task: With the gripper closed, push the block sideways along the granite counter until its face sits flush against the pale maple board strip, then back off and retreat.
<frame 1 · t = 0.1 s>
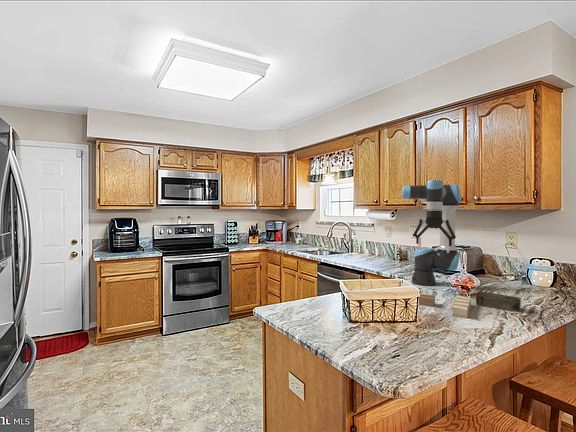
hand: (433, 251, 173), 28 cm above the countertop, fingers open, 13 cm apart
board: (462, 310, 166), on the countertop
block: (423, 304, 176), on the countertop
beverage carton: (498, 307, 171), on the countertop
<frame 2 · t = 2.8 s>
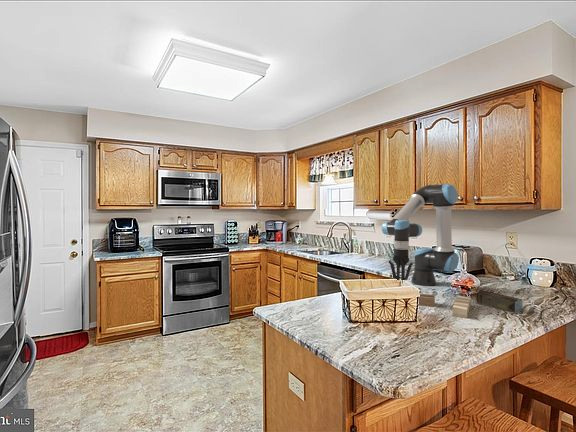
hand: (400, 291, 182), 5 cm above the countertop, fingers closed
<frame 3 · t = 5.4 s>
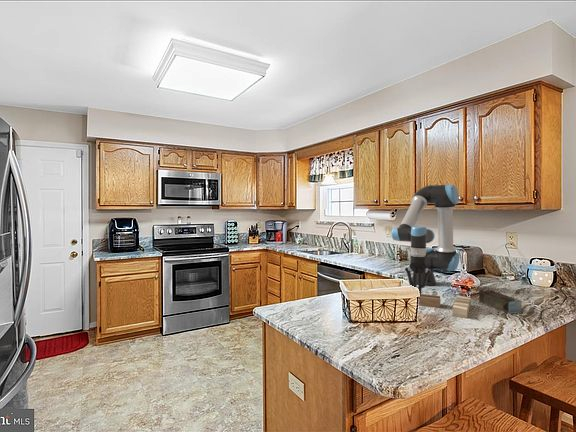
hand: (417, 299, 178), 1 cm above the countertop, fingers closed
block: (429, 305, 174), on the countertop, touching gripper
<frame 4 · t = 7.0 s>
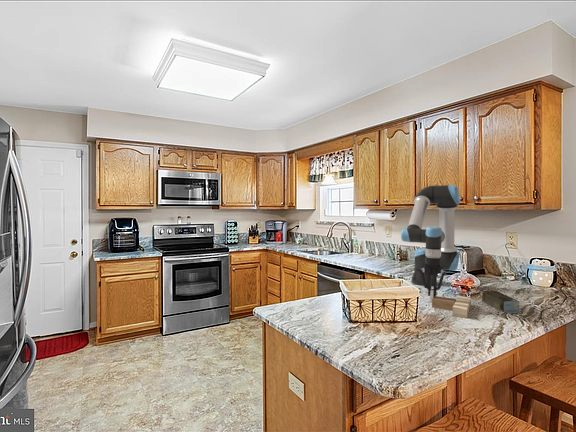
hand: (432, 302, 174), 1 cm above the countertop, fingers closed
block: (443, 307, 170), on the countertop
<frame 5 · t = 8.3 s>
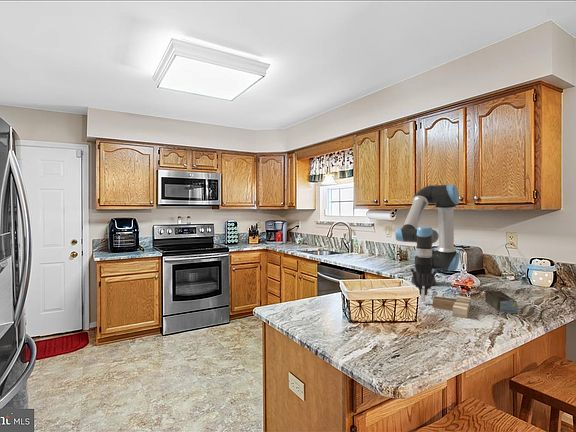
hand: (423, 301, 176), 1 cm above the countertop, fingers closed
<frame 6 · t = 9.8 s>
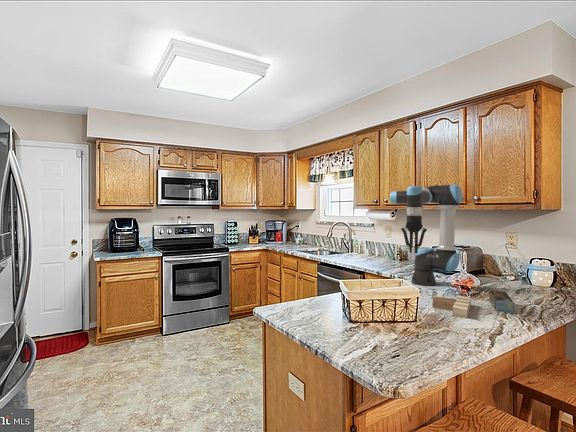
hand: (413, 259, 180), 23 cm above the countertop, fingers closed
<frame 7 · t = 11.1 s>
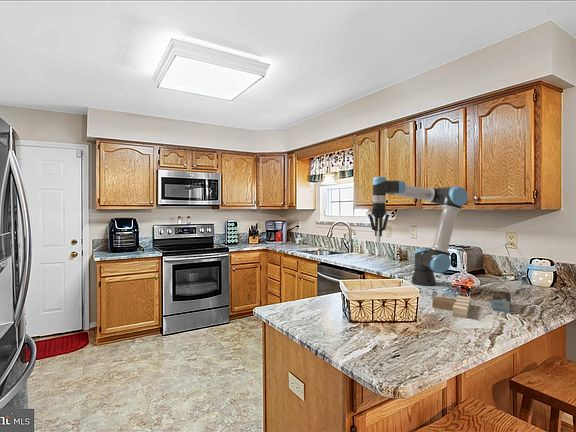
hand: (378, 241, 202), 29 cm above the countertop, fingers closed
block: (444, 308, 170), on the countertop, touching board
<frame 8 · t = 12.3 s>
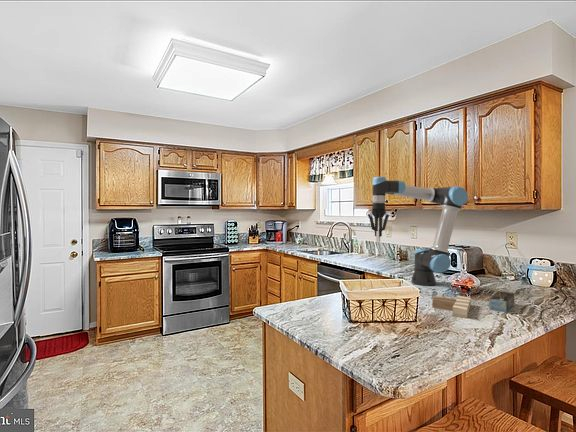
hand: (378, 241, 203), 29 cm above the countertop, fingers closed
at the end: block inside the target area on the countertop beside the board (0.1 cm from its centre), on the countertop; block tilted 0° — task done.
